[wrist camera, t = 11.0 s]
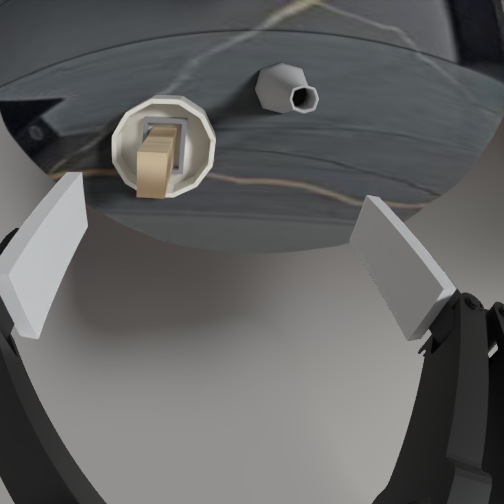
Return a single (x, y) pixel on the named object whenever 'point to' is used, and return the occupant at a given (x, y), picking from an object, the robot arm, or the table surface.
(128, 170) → the white round dish
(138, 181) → the wooden block
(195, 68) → the table surface
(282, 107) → the flask
